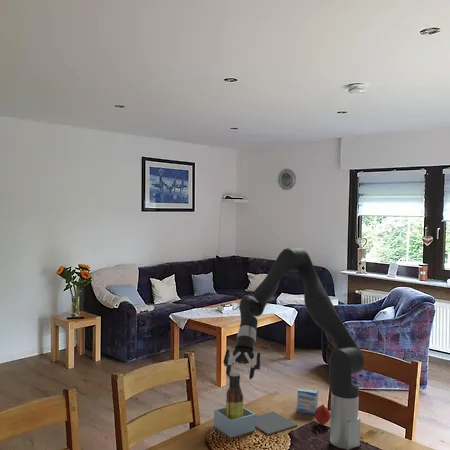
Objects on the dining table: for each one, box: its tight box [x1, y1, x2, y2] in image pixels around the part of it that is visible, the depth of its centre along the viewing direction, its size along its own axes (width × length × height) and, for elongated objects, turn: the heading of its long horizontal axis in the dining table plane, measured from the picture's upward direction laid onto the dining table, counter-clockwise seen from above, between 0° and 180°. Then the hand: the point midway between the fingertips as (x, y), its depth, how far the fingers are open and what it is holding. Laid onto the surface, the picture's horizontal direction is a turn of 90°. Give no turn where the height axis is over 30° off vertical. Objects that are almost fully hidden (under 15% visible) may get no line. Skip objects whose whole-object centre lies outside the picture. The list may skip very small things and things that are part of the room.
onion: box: [313, 403, 331, 426], centre depth 177 cm, size 6×6×8 cm
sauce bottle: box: [225, 372, 244, 420], centre depth 172 cm, size 6×6×20 cm
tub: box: [213, 406, 257, 439], centre depth 172 cm, size 11×11×6 cm
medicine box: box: [296, 387, 319, 415], centre depth 189 cm, size 8×4×9 cm, turn 73°
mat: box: [255, 411, 298, 436], centre depth 177 cm, size 14×14×1 cm
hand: (239, 377), depth 179 cm, fingers open, 8 cm apart
